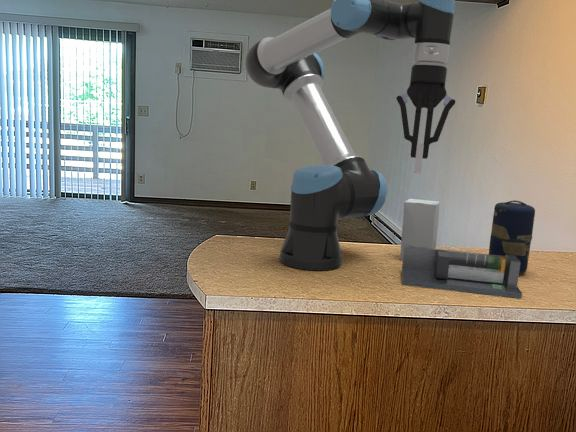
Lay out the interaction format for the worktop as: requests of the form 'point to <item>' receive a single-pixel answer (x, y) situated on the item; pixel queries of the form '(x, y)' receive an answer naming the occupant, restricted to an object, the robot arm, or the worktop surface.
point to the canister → (512, 231)
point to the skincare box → (420, 224)
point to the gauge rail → (423, 262)
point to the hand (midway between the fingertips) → (417, 172)
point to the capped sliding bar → (467, 270)
